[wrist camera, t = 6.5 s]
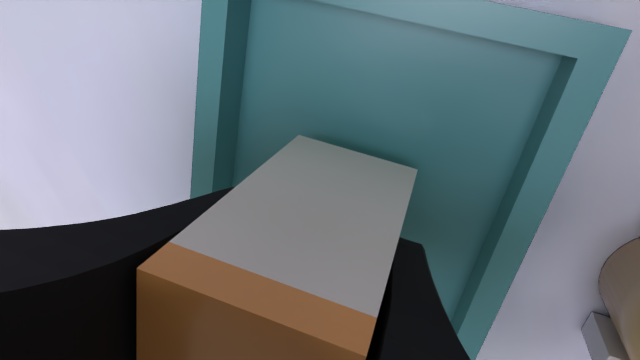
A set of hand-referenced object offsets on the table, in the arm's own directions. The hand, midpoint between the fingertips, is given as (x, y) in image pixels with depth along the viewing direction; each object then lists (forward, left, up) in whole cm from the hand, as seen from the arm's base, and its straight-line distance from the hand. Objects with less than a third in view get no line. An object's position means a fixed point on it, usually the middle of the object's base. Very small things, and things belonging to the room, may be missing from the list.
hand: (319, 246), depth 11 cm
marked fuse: (0, 0, -2) cm, 2 cm away
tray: (0, 0, -5) cm, 5 cm away
